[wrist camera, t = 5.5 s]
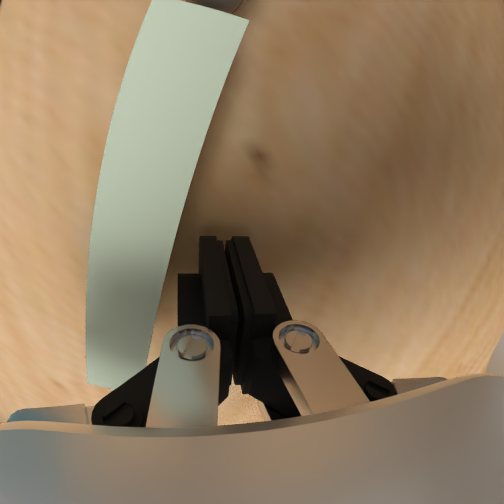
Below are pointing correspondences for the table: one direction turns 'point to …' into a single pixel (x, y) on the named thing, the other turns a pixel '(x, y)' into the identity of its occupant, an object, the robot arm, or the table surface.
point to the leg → (150, 176)
